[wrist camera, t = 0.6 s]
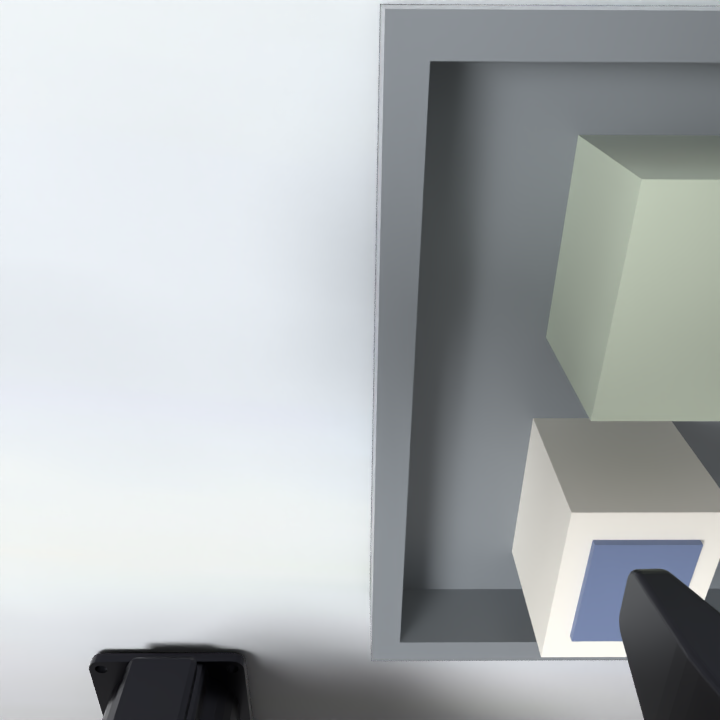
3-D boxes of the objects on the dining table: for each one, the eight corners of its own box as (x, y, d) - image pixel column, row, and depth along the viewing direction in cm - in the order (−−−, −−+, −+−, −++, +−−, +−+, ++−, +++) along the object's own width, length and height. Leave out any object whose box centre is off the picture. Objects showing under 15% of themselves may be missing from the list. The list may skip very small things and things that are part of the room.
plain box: (692, 337, 21) (770, 421, 17) (545, 337, 21) (591, 421, 17) (748, 135, 18) (860, 180, 14) (578, 134, 18) (642, 179, 14)
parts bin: (741, 593, 27) (782, 659, 25) (369, 594, 27) (371, 661, 24) (979, 7, 17) (1094, 12, 14) (380, 3, 17) (384, 8, 14)
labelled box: (632, 551, 25) (686, 662, 21) (512, 551, 25) (542, 662, 21) (669, 418, 22) (740, 517, 18) (533, 418, 22) (573, 517, 18)
